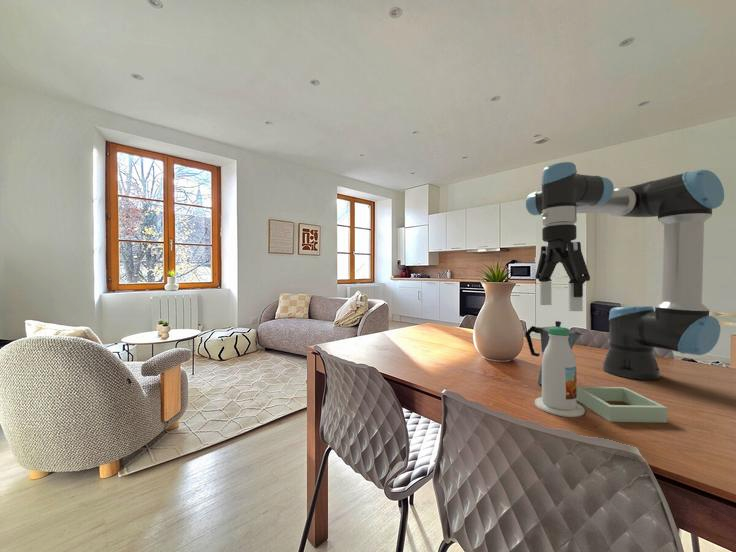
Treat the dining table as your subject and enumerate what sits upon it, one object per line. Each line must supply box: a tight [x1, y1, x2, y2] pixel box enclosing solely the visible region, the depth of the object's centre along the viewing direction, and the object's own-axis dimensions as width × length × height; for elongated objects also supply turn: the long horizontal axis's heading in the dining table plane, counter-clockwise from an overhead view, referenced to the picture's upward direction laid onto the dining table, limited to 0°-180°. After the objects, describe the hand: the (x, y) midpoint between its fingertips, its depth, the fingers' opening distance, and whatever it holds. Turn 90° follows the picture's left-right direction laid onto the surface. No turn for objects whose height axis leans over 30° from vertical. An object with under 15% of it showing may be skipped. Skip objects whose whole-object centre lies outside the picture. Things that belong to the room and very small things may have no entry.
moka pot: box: [524, 320, 582, 386], centre depth 97 cm, size 10×15×20 cm, turn 78°
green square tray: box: [577, 386, 668, 423], centre depth 80 cm, size 13×13×4 cm
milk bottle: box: [541, 326, 578, 410], centre depth 81 cm, size 8×8×20 cm
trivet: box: [534, 396, 585, 418], centre depth 81 cm, size 11×11×1 cm
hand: (559, 307), depth 81 cm, fingers open, 13 cm apart
